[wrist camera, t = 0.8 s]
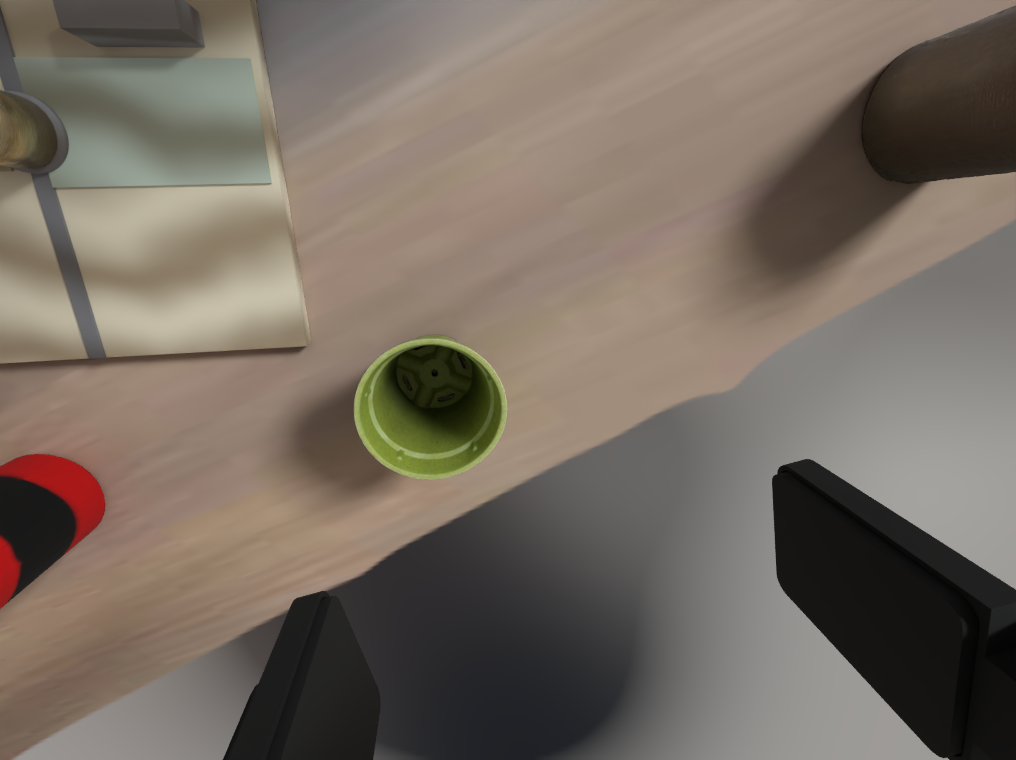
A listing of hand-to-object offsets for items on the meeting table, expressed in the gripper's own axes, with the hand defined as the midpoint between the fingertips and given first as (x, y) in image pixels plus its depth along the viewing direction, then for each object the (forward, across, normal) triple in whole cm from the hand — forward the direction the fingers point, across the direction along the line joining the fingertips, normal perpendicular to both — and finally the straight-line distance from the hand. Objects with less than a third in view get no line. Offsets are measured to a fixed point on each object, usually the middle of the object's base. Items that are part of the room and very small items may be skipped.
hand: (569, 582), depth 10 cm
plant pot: (+29, +4, +3) cm, 29 cm away
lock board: (+28, +24, -18) cm, 41 cm away
